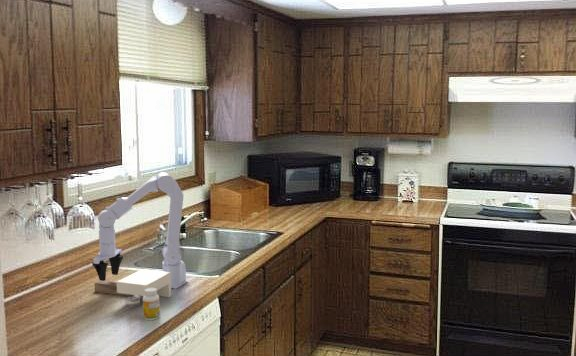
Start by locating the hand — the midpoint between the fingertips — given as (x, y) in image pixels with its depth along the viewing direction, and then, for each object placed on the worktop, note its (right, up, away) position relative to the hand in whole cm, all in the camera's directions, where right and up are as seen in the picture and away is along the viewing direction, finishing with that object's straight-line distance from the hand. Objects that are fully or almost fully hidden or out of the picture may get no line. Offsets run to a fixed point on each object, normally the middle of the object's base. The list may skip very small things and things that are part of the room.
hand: (108, 277), depth 218 cm
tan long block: (+2, -6, 0) cm, 6 cm away
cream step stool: (+16, -7, -9) cm, 20 cm away
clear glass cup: (+12, -8, -12) cm, 19 cm away
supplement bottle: (+22, -9, -25) cm, 35 cm away
